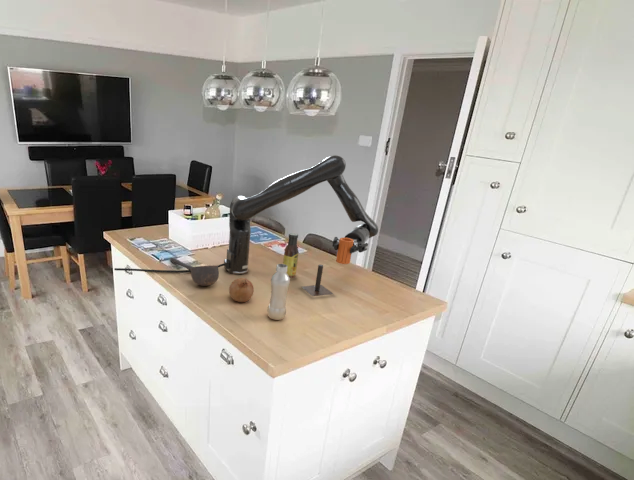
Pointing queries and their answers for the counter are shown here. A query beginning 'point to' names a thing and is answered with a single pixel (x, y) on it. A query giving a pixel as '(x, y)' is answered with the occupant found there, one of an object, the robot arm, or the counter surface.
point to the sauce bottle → (291, 255)
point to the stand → (317, 285)
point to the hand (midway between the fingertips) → (343, 249)
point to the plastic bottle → (278, 293)
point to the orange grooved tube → (344, 250)
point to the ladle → (201, 273)
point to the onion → (241, 290)
